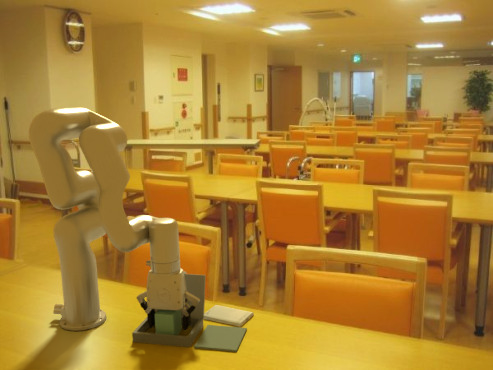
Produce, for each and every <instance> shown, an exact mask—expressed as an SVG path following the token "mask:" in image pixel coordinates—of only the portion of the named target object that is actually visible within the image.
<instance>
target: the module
mask: <svg viewBox="0 0 493 370" xmlns="http://www.w3.org/2000/svg"><path fill="white" fill-rule="evenodd" d="M154 326H155V327H154V328H155V333H156V334H168V335H179V334H180V333H181V332H182V330H183V326H182V324H181V310H178V311H175V310H158V311H157V312H156V313H155V325H154Z"/></svg>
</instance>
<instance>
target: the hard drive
mask: <svg viewBox="0 0 493 370" xmlns="http://www.w3.org/2000/svg"><path fill="white" fill-rule="evenodd" d="M254 313H255V312H252V311H248V310H244V309H243V310H242V309H239V308H233V307H228V306H224V305H218V304H215V305H213V306H212V307H211V308H209V309H208V310H207V311H206V312H204V318H203V320H207V321H211V322H217V323H222V324H227V325H229V326H234V327H240V328H242V326H243V325H244V324H246V323H247V321H249V320H250V319H251V318H252V317H253V316H254Z"/></svg>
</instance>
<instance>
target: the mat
mask: <svg viewBox="0 0 493 370" xmlns="http://www.w3.org/2000/svg"><path fill="white" fill-rule="evenodd" d="M247 331H248V329H247V327H239V326H226V325H215V324H207V325H206V327H205V329H204V330H203V331H202V333H201V334H200V336H199V338H198V339H197V341H196V343H195V344H194V345H193V348H194V349H201V350H202V349H203V350H214V351H224V352H233V353H234V352H235V353H237V352H238V350H239V347H240V346H241V343H242V341H243V339H244V337H245V334H246V333H247Z"/></svg>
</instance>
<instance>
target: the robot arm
mask: <svg viewBox="0 0 493 370" xmlns="http://www.w3.org/2000/svg"><path fill="white" fill-rule="evenodd" d="M74 139H78V144H79V147H80V149H81V152H82V154H83V155H84V157H85V160H86V162H87V165H88V166H89V169H90V170H91V171H89V170H85V169H80V170H76V169H75V166H74V163H73V159H72V156H71V154H70V153H69V151H68V149H67V148H66V147H65V146H64V144H62V142H63V141H65V140H66V141H67V140H74ZM28 140H29V143H30V146H31V149H32V151H33V154H34V155H35V157H36V160H37V163H38V166H39V171H40V173H41V177H42V180H43V183H44V187H45V190H46V194H47V198H48V200H49V202H50V204H51V205H52V206H53V208H55V209H57V210H68V209H71V208H74V207H77V210H74V211H73V212H70V213H68V214H65V215H63V216H62V217H61V218H59V219H58V220H57V221H56V223H55V225H54V227H53V232H52V233H53V239H54V242H55V245H56V248H57V252H58V257H59V258H58V260H59V266H60V267H59V268H60V273H61V274H60V275H61V286H62V294H63V295H62V297H63V304H60V303H56V304H55V305H54V306H53V314H54V315H60V316H61V317H60V319H59V326H60V327H61V328H62V329H64V330H67V331H73V332H75V331H76V332H77V331H86V330H90V329H93V328H96V327H99V326H100V325H101V324H103V323H104V322H106V319H107V313H106V312H105V311H104V310H103V309H101V305H100V291H99V279H98V268H97V259H96V255H95V253H94V251H93V249H92V248H91V243H92V242H93V241H96V240H98V239H100V238H102V237H104V236H105V235H106V236H107V237H108V240H109V242H110V243H111V245H112V246H113V247H114V248H116V250H118V251H120V252H123V253H129V252H133V251H134V250H136V249H138V248H140V247H142V246H143V245H147V244H148V243H149V255H150V256H149V257H150V259H149V260H146V263H145V264H146V266H148V267H150V270H149V271H148V273H147V278H146V279H147V281H146V290H145V291H144V292H141V293H139V294H138V295H137V296H136V299H137V302H138V303H139V304H140V308H142V309H143V310H144V312H145V314H146V315H147V316H146V317H147V318H148V323H149V328H150V329H152V328H154V326H155V313H156V311H155V309H159V310H175V311H178V310H181V312H182V313H183V314H184V316H183V326H182V330H183V331H187V330H188V329H189V328H190V327H189V326H190V325H191V315H190V314H191V313H192V312H193V311H194V310H195V308H196V306H197V305H198V303H199V301H200V299H199V298H197V297H196V296H194V295H192V294H190V293H189V292H187V286H186V280H185V276H184V272H183V271H184V269H183V268H181V257H180V255H181V254H180V252H181V251H180V239H179V238H180V237H179V235H180V234H179V224H178V223H179V222H178V221H177V220H176V219H175V218H171V217H156V216H153V215H147V214H140V215H136V216H134V217H131V218H129V219H128V216H127V214H126V212H125V209H124V205H123V197H124V192H125V190H126V188H127V186H128V184H129V181H130V180H131V174H130V172H129V170H128V168H127V165H126V164H125V161H124V159H123V158H122V157H123V156H122V155H121V152H123V151H124V150H125V149H126V148H127V145H128V136H127V133H126V131H125V130H124V128H123V127H122V126H121V125H119V124H118V123H116V122H115V121H114V120H113V121H112V120H111V119H109V118H107V117H105V116H103V115H100V114H99V113H96V112H94V111H92V110H90V109H88V108H85V107H79V106H78V107H77V106H76V107H75V106H73V107H57V108H50V109H47V110H46V109H45V110H43V111H41V112H39V113H38V114H36V115H35V116H34V117H33V119H32V120H31V123H30V124H29V129H28ZM145 298H146V300H145ZM188 300H190V301H191V302H192V306H191V307H190V306H189V305H188V304H187V302H188ZM149 328H148V329H149Z"/></svg>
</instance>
